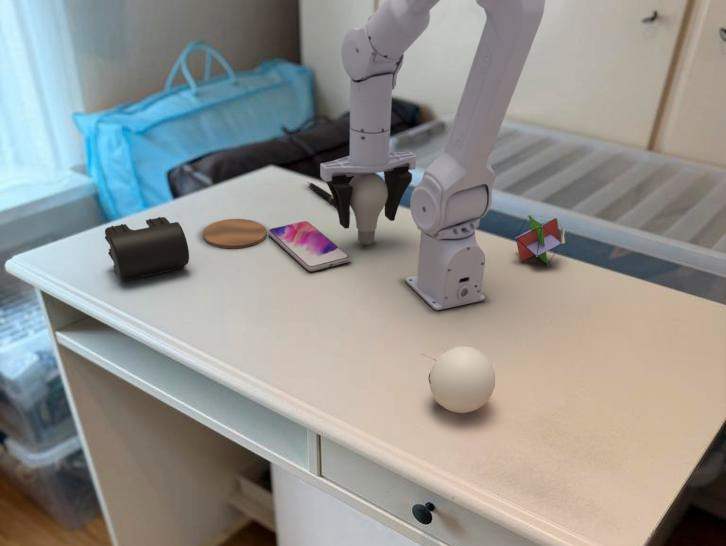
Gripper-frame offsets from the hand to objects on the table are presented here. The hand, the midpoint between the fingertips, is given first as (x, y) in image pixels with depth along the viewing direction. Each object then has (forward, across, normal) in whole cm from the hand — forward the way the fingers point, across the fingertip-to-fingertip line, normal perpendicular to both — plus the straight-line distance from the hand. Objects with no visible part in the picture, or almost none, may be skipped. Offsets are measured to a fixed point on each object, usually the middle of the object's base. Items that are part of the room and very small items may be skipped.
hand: (367, 221), depth 110 cm
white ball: (+4, +8, +41) cm, 42 cm away
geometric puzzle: (+4, -22, +14) cm, 26 cm away
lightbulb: (+4, 0, 0) cm, 4 cm away
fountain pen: (+4, -1, -19) cm, 20 cm away
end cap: (+4, +33, -3) cm, 33 cm away
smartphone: (+4, +9, -2) cm, 10 cm away
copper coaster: (+4, +18, -11) cm, 21 cm away
